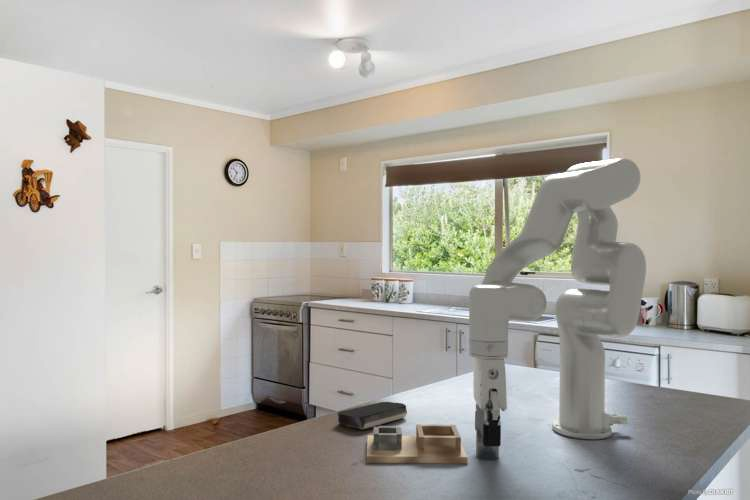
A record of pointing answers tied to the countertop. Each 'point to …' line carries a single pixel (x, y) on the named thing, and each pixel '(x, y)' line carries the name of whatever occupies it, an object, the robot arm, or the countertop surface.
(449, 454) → the holder
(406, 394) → the countertop surface
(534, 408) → the countertop surface
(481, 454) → the bottle
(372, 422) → the black sponge
